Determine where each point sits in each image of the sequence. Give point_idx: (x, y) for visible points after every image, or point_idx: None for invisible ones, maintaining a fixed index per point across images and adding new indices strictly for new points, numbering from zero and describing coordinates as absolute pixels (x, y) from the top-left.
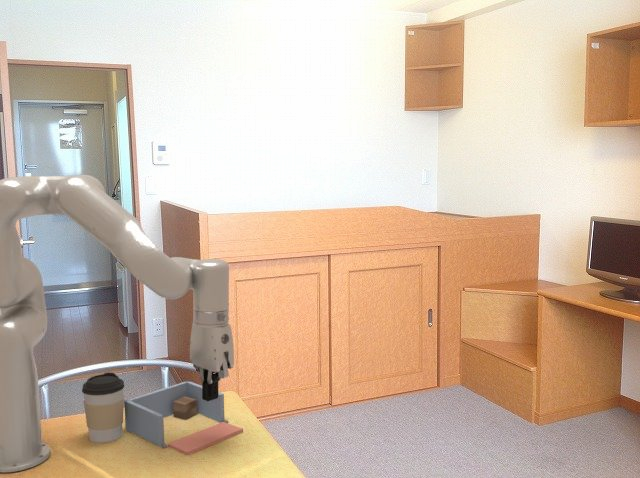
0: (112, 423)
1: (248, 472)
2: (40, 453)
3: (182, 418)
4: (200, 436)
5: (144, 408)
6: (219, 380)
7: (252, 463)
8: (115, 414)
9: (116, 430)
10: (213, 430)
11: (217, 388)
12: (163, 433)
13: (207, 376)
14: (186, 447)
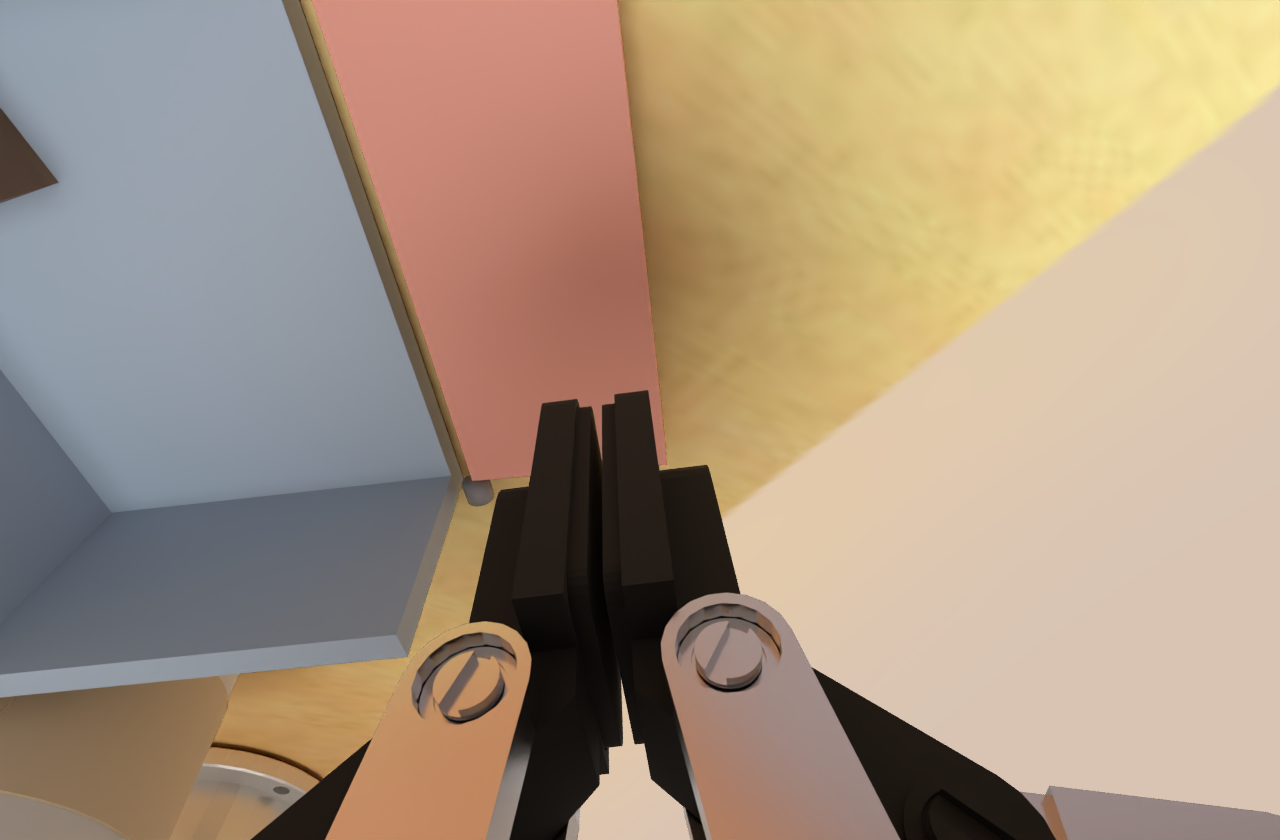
0: (209, 712)
1: (1058, 258)
2: (254, 788)
3: (18, 196)
4: (498, 293)
5: (180, 669)
6: (777, 630)
7: (1009, 164)
8: (173, 752)
9: None
10: (449, 151)
11: (723, 532)
12: (432, 532)
13: (546, 802)
14: None
